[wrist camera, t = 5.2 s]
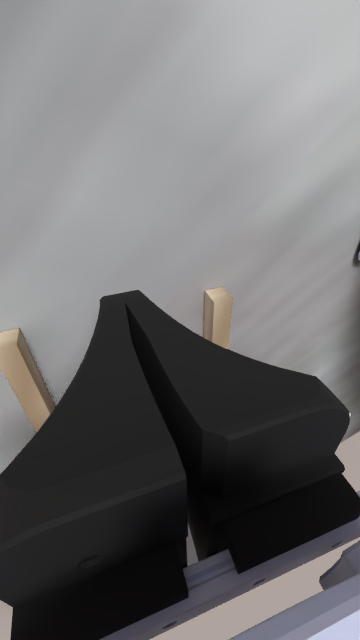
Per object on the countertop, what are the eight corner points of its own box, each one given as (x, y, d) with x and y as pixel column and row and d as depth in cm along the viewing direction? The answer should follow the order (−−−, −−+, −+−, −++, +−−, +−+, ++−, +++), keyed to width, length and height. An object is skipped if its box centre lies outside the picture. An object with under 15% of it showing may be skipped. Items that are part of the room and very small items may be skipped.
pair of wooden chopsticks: (222, 286, 16) (232, 298, 15) (208, 485, 30) (213, 498, 29) (-6, 333, 13) (-10, 350, 12) (96, 527, 27) (98, 542, 26)
